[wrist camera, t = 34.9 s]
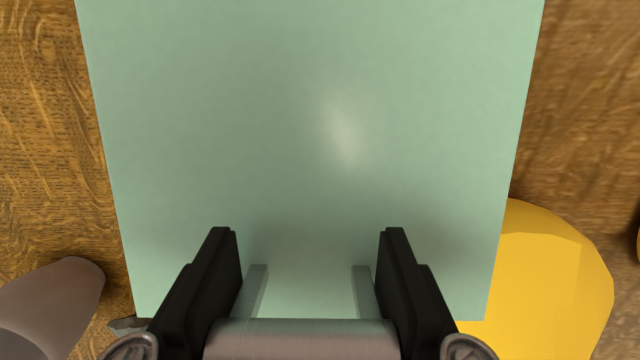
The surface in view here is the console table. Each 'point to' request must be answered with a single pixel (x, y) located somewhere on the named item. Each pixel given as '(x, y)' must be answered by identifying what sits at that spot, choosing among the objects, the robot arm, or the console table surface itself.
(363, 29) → the lid
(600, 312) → the vase
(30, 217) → the console table surface
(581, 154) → the console table surface
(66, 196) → the console table surface
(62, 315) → the mug
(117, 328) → the stone
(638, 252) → the teapot
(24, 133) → the console table surface
